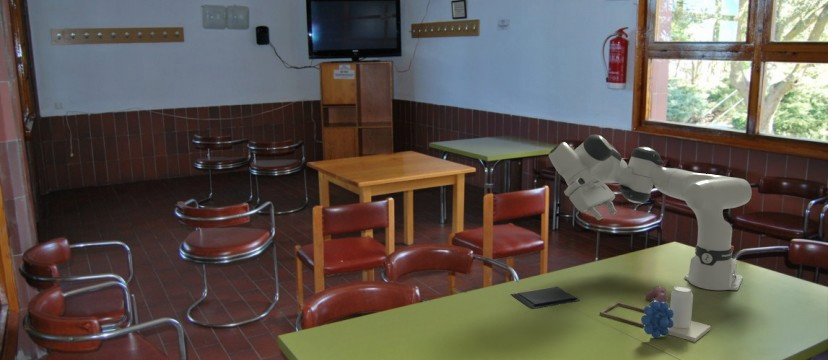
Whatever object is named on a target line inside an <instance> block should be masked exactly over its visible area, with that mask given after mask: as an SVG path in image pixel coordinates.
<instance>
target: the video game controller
mask: <svg viewBox="0 0 828 360" xmlns="http://www.w3.org/2000/svg"><path fill="white" fill-rule="evenodd" d="M644 298H645V299H646V300H647V301H650V300H651V301H652V300H656V301H658V302H659V303H660V302H662V301H663V302H666V303H667V302H668V295H667V290H666V289H665V288H664V287H662V286H659V285H658V286H656V287H654V288H653V289H652V290H651V291H649V292H647V293H646V294H645V297H644ZM648 306H651V302H650V303H649V304H648Z"/></svg>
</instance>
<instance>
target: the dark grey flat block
mask: <svg viewBox="0 0 828 360" xmlns="http://www.w3.org/2000/svg"><path fill="white" fill-rule="evenodd" d="M509 296H512V297H513V299H515V300H516V301H519V302H520V303H521V304H523V305H524V306H526V307H527V308H528V309H531V310H536V309H541V308H542V309H543V308H547V307H548V306H549V307H553V306H560V305H564V304H565V305H566V304H570V303H572V304H573V303H577V302H580V301H581V299H579V298H578V297H577V296H574V295H573V294H571V293H570V292H568V291H566V290H564V289H563V288H561V287H559V286H551V287H545V288H539V289H533V290H532V289H531V290H526V291H519V292H515V293H510V295H509ZM559 304H560V305H559Z"/></svg>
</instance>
